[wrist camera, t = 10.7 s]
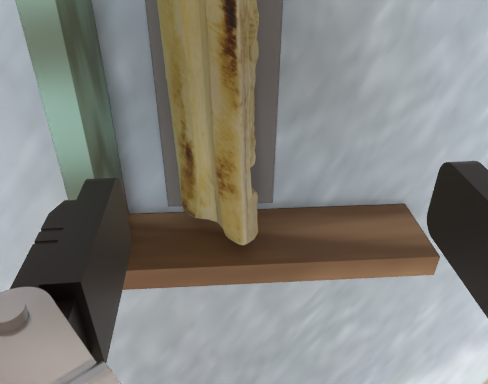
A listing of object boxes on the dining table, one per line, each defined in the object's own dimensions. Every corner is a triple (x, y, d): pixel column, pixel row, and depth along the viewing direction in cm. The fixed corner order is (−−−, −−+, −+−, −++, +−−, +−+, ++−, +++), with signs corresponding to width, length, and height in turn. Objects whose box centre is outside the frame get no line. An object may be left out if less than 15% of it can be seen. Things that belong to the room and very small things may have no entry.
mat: (272, 200, 30) (272, 202, 29) (168, 203, 29) (168, 206, 29) (298, -325, 16) (299, -328, 16) (109, -332, 16) (107, -336, 16)
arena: (400, 220, 31) (433, 274, 27) (110, 232, 30) (92, 291, 26) (518, -236, 18) (623, -283, 14) (7, -250, 17) (-67, -308, 12)
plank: (108, -307, 16) (74, -382, 12) (246, -311, 16) (260, -386, 12) (183, 206, 29) (179, 256, 25) (259, 200, 29) (268, 249, 25)
